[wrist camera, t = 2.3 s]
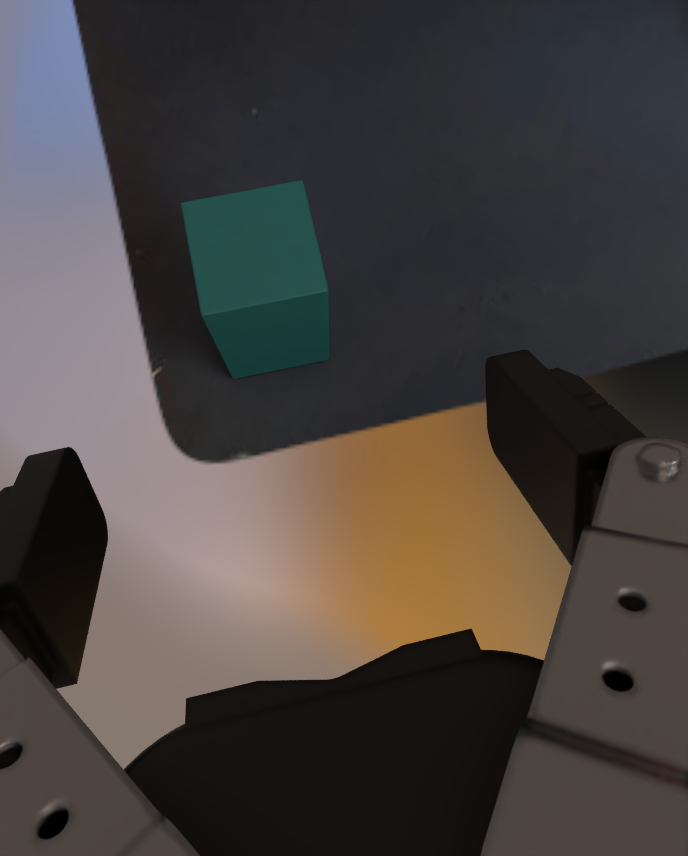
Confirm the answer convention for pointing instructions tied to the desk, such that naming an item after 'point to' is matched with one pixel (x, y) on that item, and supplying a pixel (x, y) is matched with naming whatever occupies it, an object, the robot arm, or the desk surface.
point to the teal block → (259, 278)
